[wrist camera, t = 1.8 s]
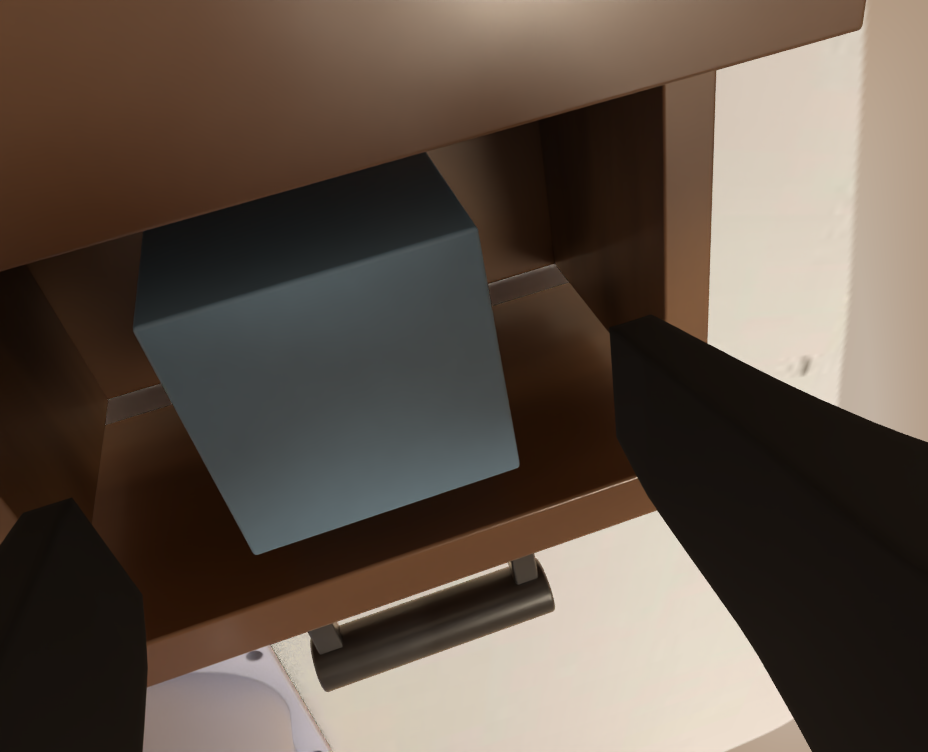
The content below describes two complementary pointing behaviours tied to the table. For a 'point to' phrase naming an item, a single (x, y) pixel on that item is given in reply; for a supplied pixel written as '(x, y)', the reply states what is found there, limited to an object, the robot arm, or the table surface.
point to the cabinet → (315, 91)
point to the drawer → (420, 523)
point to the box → (329, 349)
